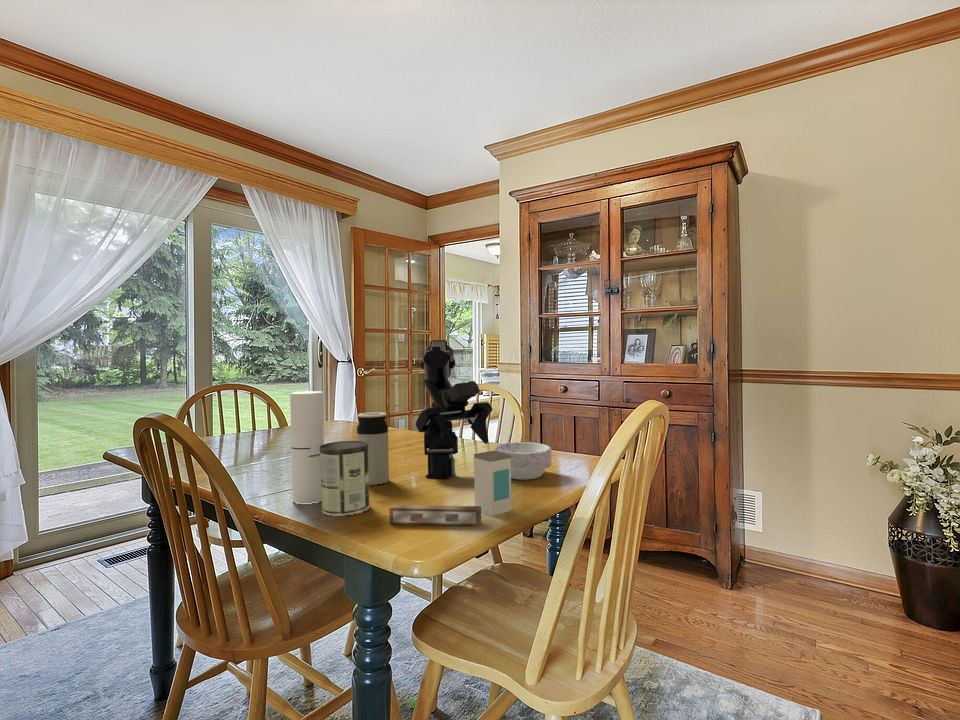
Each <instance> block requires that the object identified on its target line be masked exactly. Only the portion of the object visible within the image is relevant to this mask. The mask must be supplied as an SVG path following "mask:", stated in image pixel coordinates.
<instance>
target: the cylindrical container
mask: <svg viewBox="0 0 960 720" xmlns="http://www.w3.org/2000/svg"><path fill="white" fill-rule="evenodd" d="M289 398H290V399H289V401H290V405H289V406H290V440H291V441H290V442H291V444H290V445H291V449H290V450H291V482H292V483H291V484H292V485H291V488H292V495H291V496H292V502H293V501H294V502H298V503H312V502H318V501H321V500H322V496H321V464H320V449H319V447H320V446H321V445H324V444H325V435H324V433H325V432H324V431H325V428H324V392H323V391H318V390H315V391H314V390H312V391H311V390H310V391H295V392H290V393H289Z"/></svg>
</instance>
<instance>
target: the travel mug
mask: <svg viewBox="0 0 960 720" xmlns="http://www.w3.org/2000/svg"><path fill="white" fill-rule="evenodd" d="M386 416H387V412H382V411H380V412H379V411H378V412H377V411H376V412H375V411H374V412H373V411H371V412H369V411H368V412H361V413H358V414H357V417H358V421H359V422H358V424H357V426H356V441H363V442H367V443H368V444H369V446H368V473H369V485H374V486H378V485H377V484H381V485H384V484H386V483H387V482H389V481H390V467H389V463H390V462H389V458H390V457H389V425H388V424H387V421H386ZM383 483H384V484H383Z"/></svg>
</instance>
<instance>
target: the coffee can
mask: <svg viewBox="0 0 960 720" xmlns="http://www.w3.org/2000/svg"><path fill="white" fill-rule="evenodd" d="M368 446H369V444H368V443H367V442H363V441H357V440H341V441H332V442H329V443H324V445H321V446H320V447H319V449H320V464H321V496H322V502H321V513H322V512H323V513H324V514H329V515H335V516H334V517H338V516H340V517H346V516H345V515H351V516H355V515H354V514H356V515H359V514H363V513H365V512H367V511H368V510H370V507H371V506H370V505H371V504H370V486H369V473H368ZM364 511H365V512H364ZM323 513H322V514H323ZM358 513H359V514H358ZM324 514H323V515H324ZM337 515H338V516H337Z"/></svg>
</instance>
